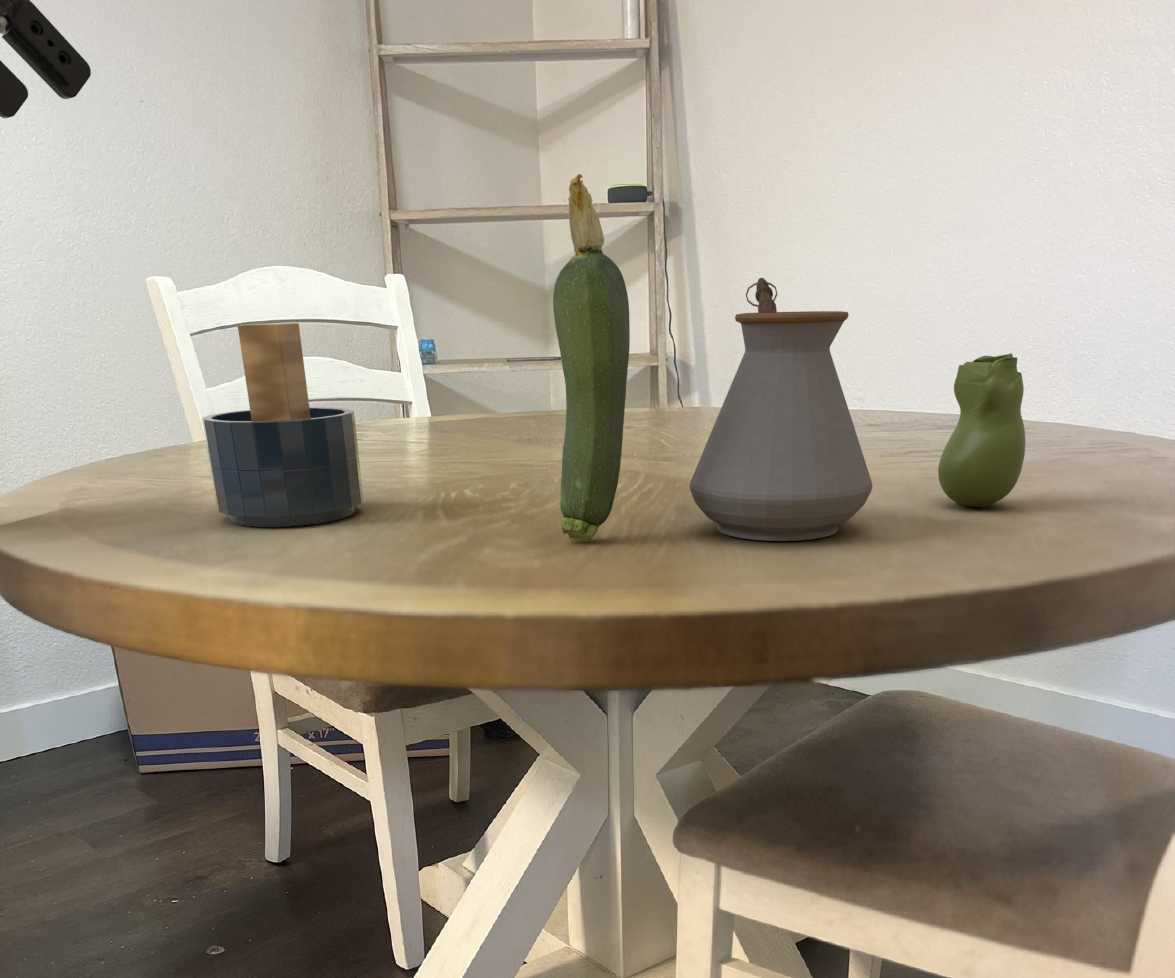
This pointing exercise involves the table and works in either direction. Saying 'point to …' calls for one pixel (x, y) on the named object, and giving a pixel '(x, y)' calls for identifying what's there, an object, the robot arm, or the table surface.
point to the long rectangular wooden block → (274, 371)
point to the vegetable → (591, 370)
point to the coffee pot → (783, 433)
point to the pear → (985, 433)
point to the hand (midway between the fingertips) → (48, 97)
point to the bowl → (284, 467)
